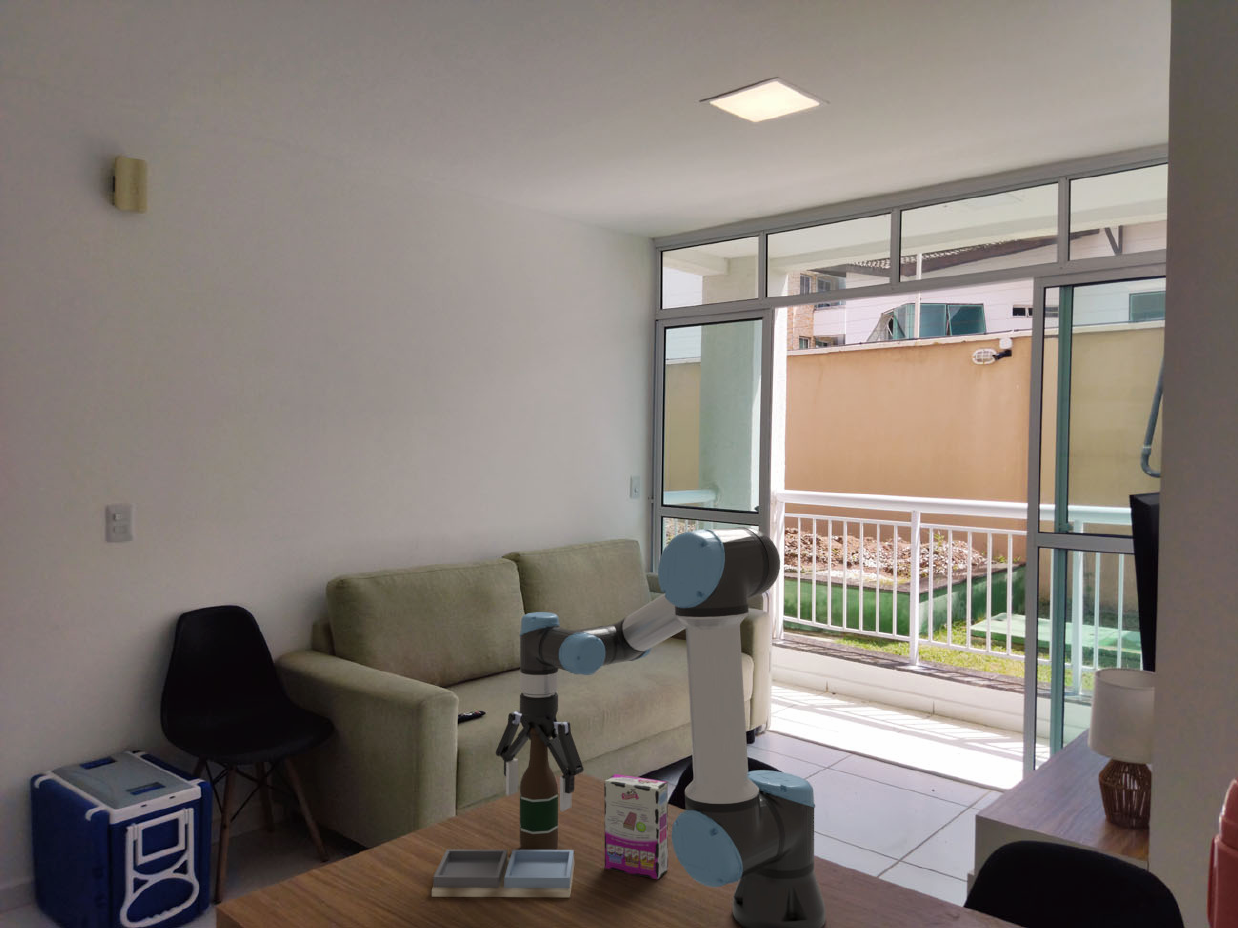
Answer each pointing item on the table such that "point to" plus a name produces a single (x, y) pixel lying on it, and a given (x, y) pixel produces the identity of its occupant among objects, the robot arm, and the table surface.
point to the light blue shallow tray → (539, 869)
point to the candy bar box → (636, 825)
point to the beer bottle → (538, 800)
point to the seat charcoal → (470, 869)
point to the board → (503, 890)
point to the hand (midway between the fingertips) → (538, 800)
